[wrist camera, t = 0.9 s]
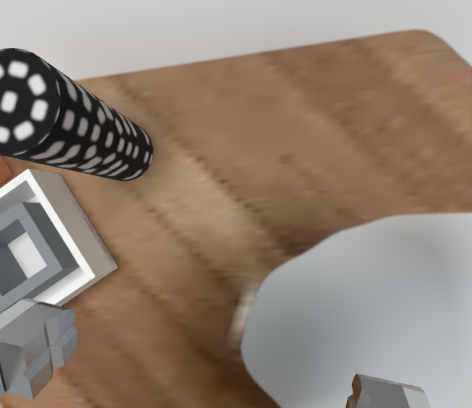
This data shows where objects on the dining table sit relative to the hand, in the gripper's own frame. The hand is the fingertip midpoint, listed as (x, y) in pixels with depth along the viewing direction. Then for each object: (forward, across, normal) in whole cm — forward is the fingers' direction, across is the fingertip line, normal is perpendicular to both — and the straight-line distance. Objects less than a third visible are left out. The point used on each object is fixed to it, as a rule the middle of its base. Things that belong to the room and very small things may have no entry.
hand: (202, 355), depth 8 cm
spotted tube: (+33, -22, -2) cm, 40 cm away
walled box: (+26, -32, -16) cm, 44 cm away
